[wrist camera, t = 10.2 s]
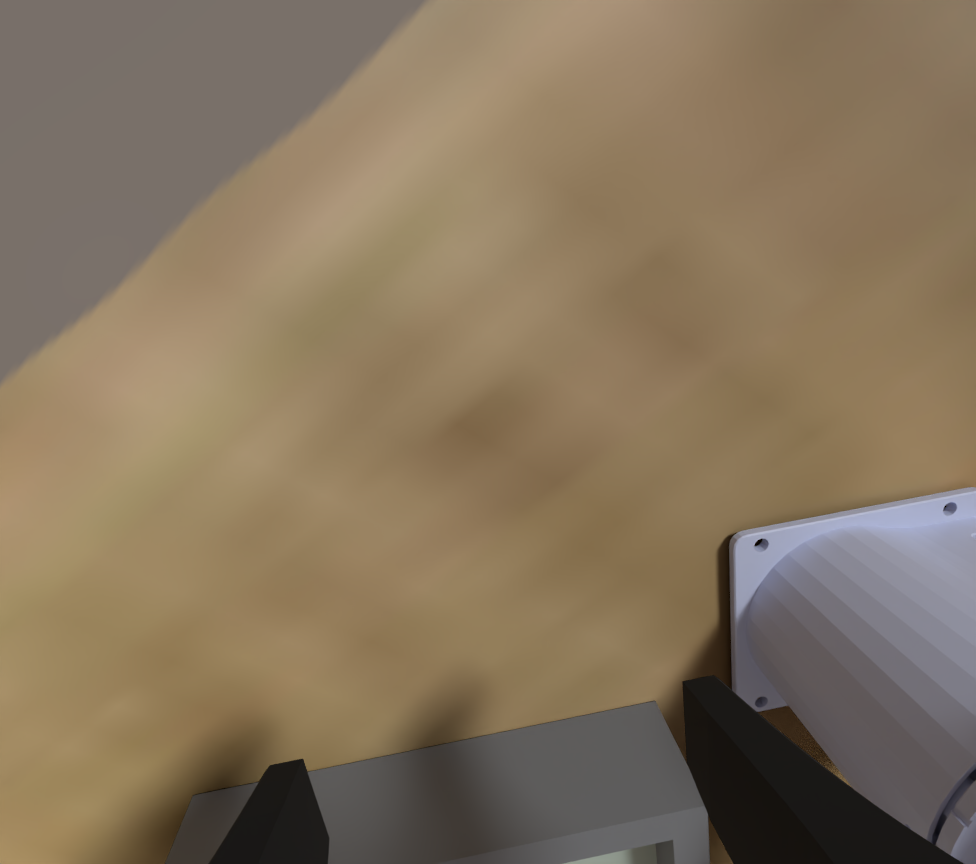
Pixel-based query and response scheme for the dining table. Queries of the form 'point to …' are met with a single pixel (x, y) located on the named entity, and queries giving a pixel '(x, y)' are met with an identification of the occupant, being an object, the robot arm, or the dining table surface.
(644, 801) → the box
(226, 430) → the dining table surface
